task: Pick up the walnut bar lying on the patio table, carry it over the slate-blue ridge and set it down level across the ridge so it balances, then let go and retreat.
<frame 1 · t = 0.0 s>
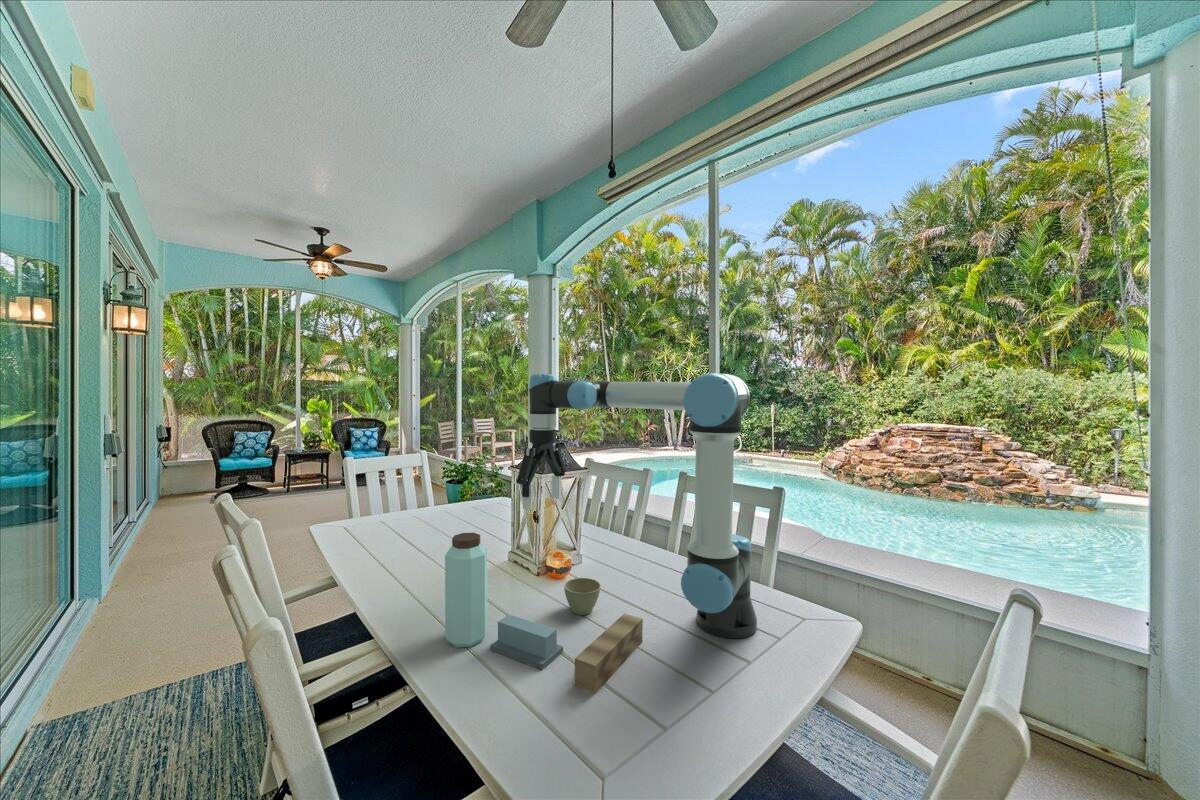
hand: (542, 503, 134), 28 cm above the table, fingers open, 13 cm apart
walnut bar: (611, 663, 106), on the table
ridge: (526, 650, 110), on the table
water bottle: (466, 639, 115), on the table
flower pot: (582, 611, 129), on the table
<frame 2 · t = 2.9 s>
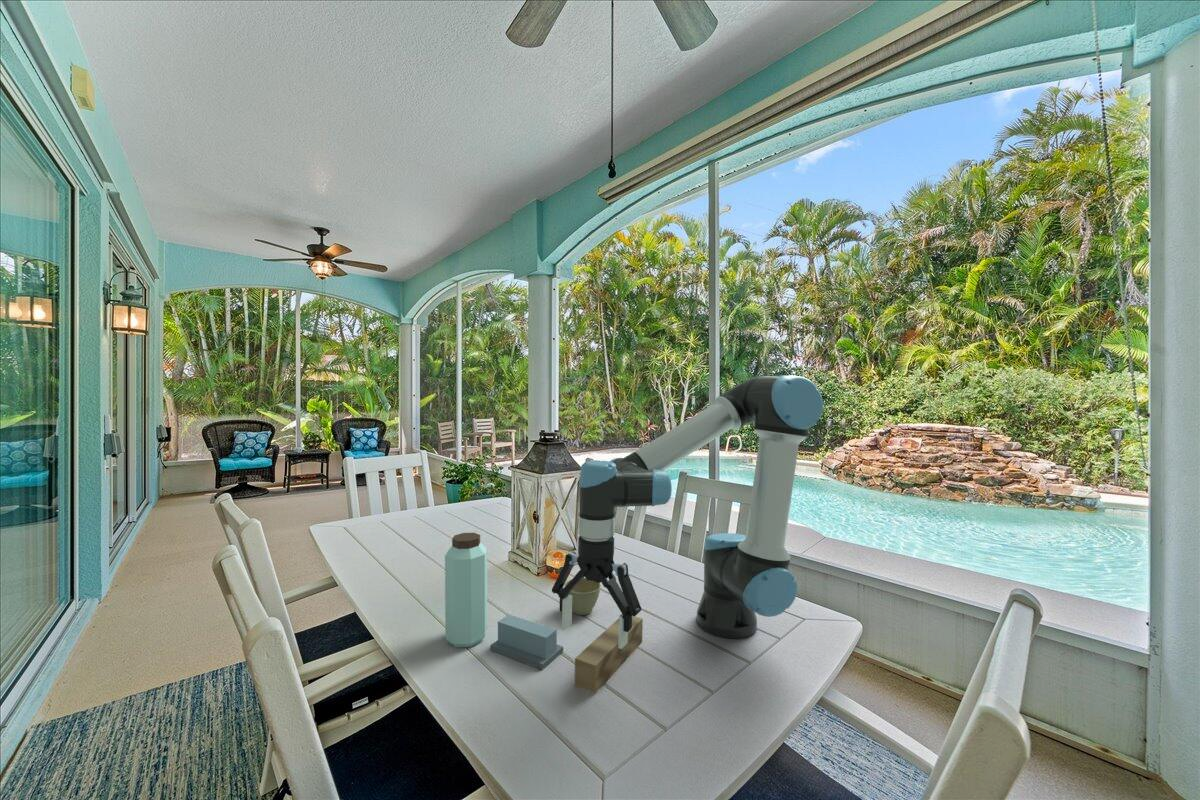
hand: (593, 636, 99), 9 cm above the table, fingers open, 13 cm apart
nothing on the table moved.
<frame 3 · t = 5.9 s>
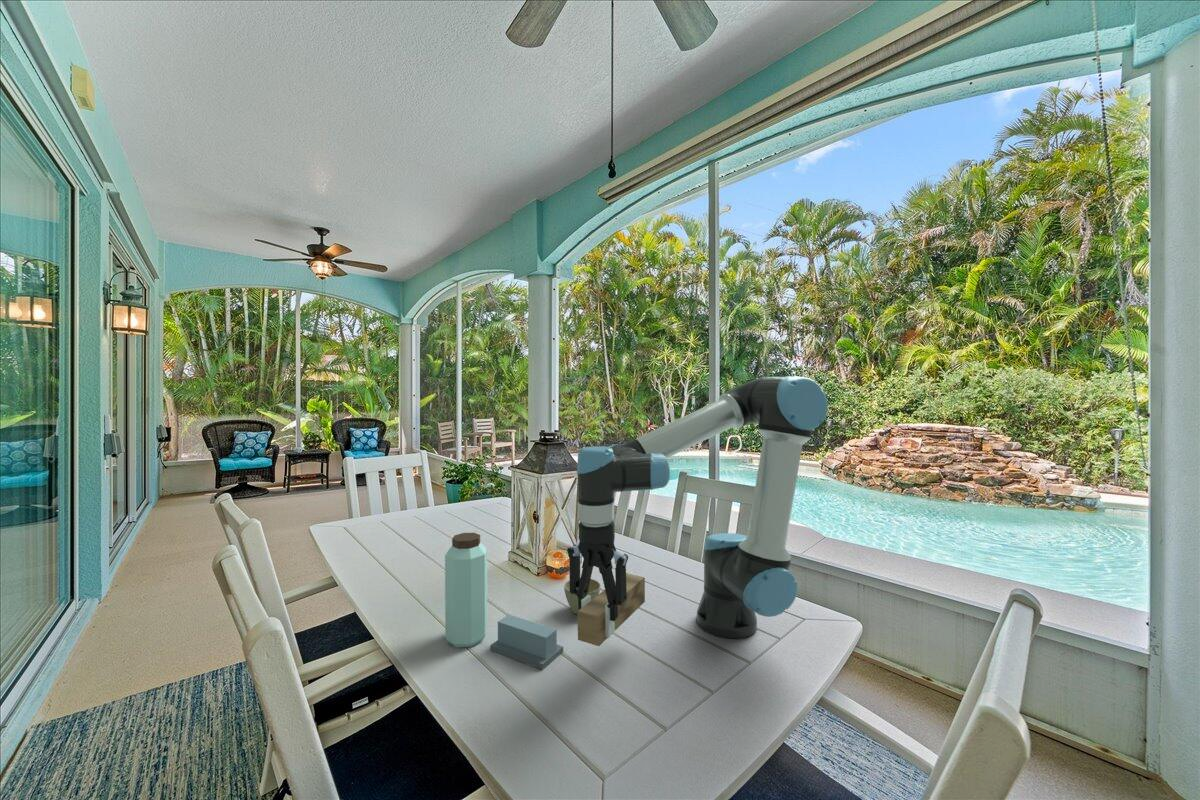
hand: (598, 630, 99), 10 cm above the table, fingers closed on walnut bar, 5 cm apart
walnut bar: (613, 619, 105), point 10 cm above the table, touching gripper
everything else where it was.
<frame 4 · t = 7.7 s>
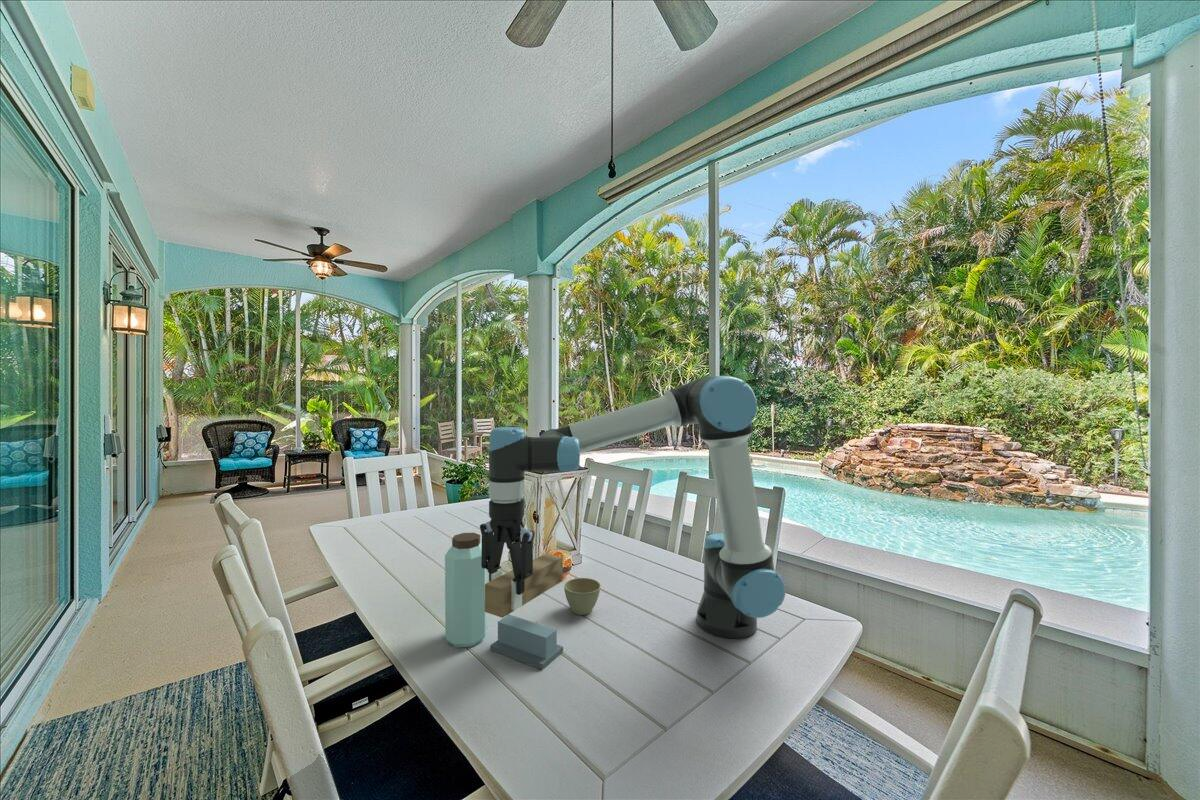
hand: (506, 604, 103), 14 cm above the table, fingers closed on walnut bar, 5 cm apart
walnut bar: (526, 595, 109), point 13 cm above the table, touching gripper
everything else where it was.
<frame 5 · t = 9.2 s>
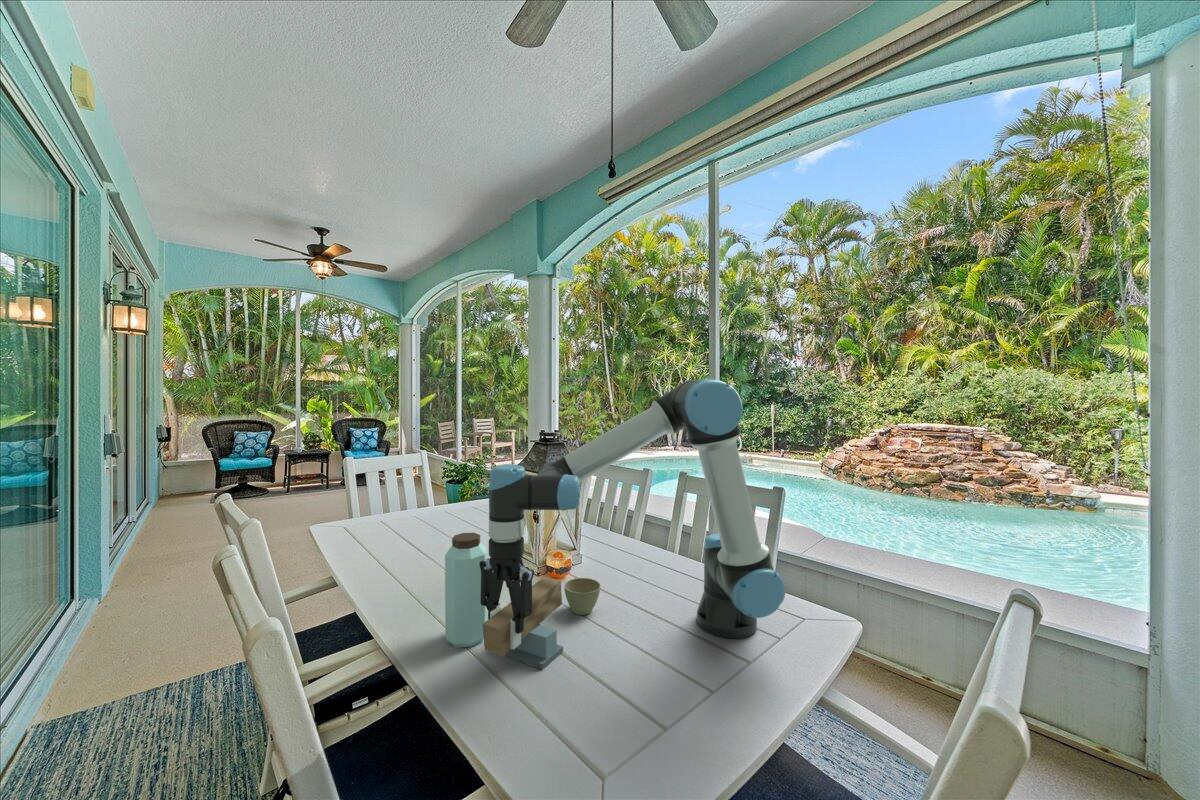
hand: (505, 642, 103), 6 cm above the table, fingers closed on walnut bar, 5 cm apart
walnut bar: (526, 625, 109), point 6 cm above the table, tilted 6°, touching gripper, ridge
everything else where it was.
when the fingers open (5 cm above the table, at t = 9.8 s): walnut bar stays where it is, resting on ridge.
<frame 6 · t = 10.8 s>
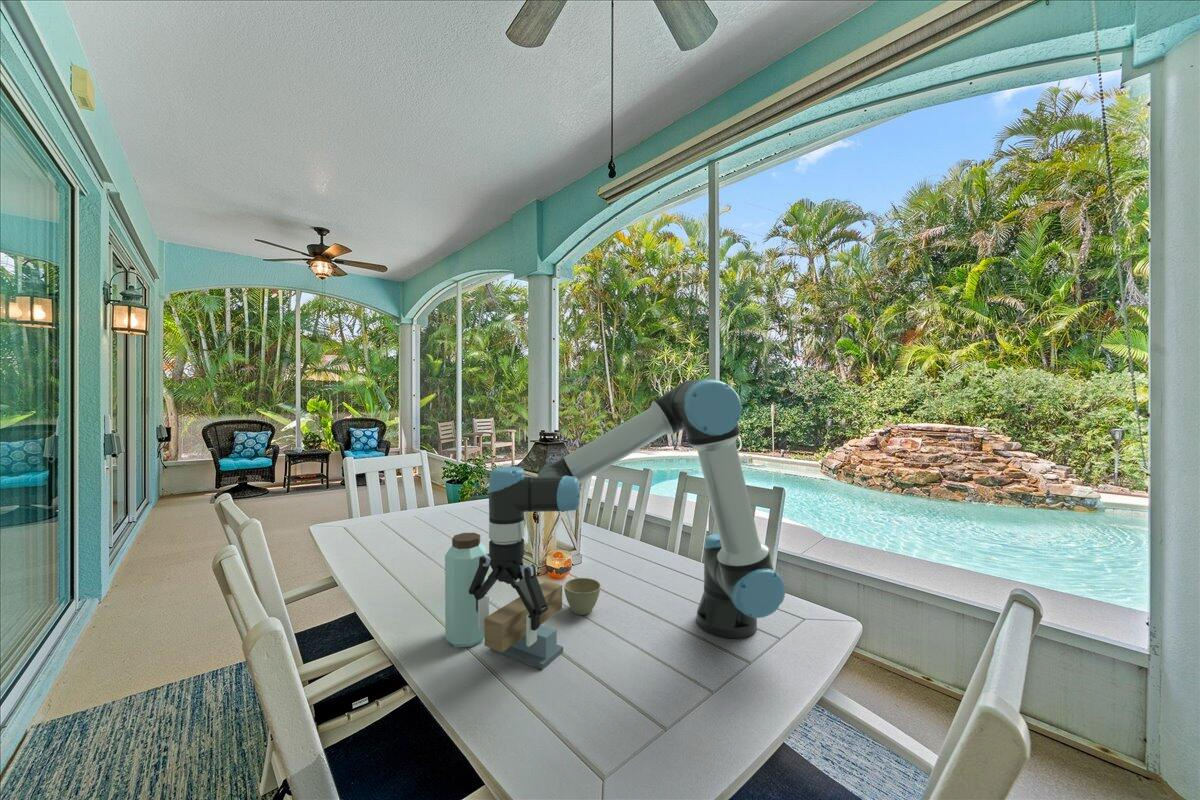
hand: (506, 634, 103), 7 cm above the table, fingers open, 13 cm apart
walnut bar: (526, 625, 109), point 6 cm above the table, touching ridge
everything else where it was.
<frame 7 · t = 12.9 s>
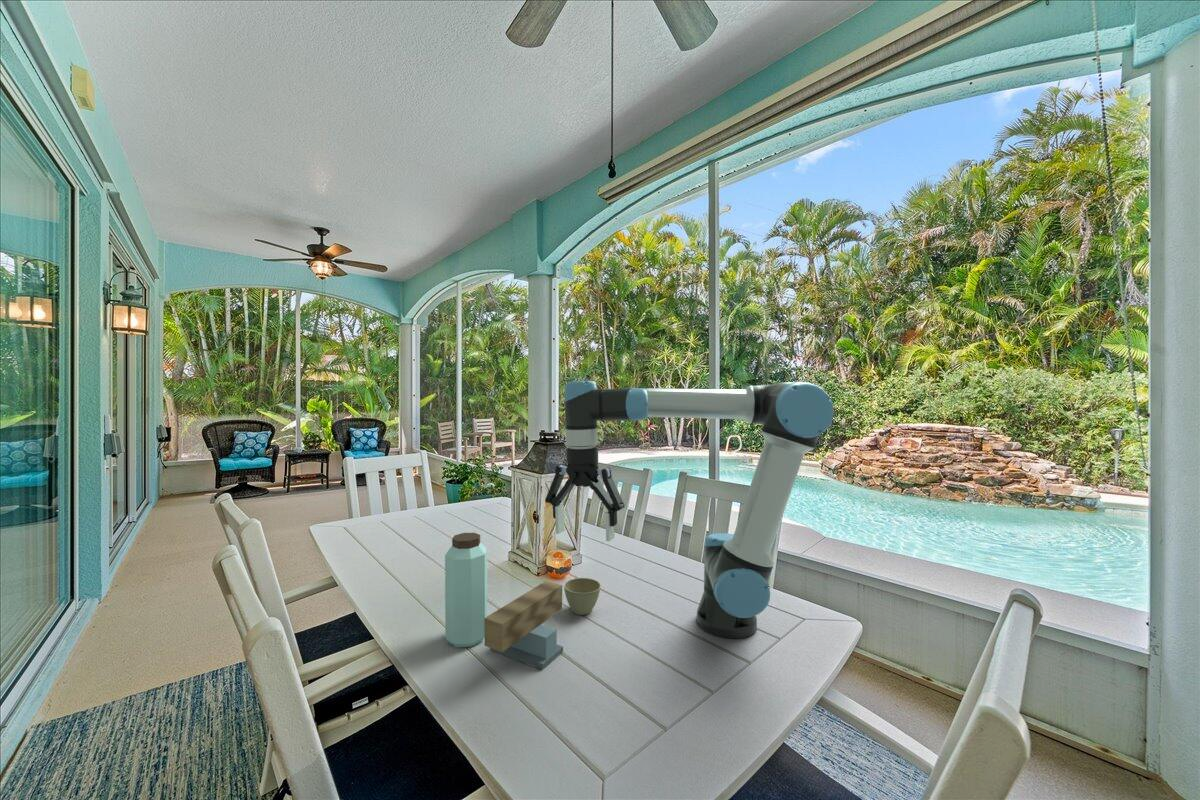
hand: (584, 535, 112), 26 cm above the table, fingers open, 13 cm apart
nothing on the table moved.
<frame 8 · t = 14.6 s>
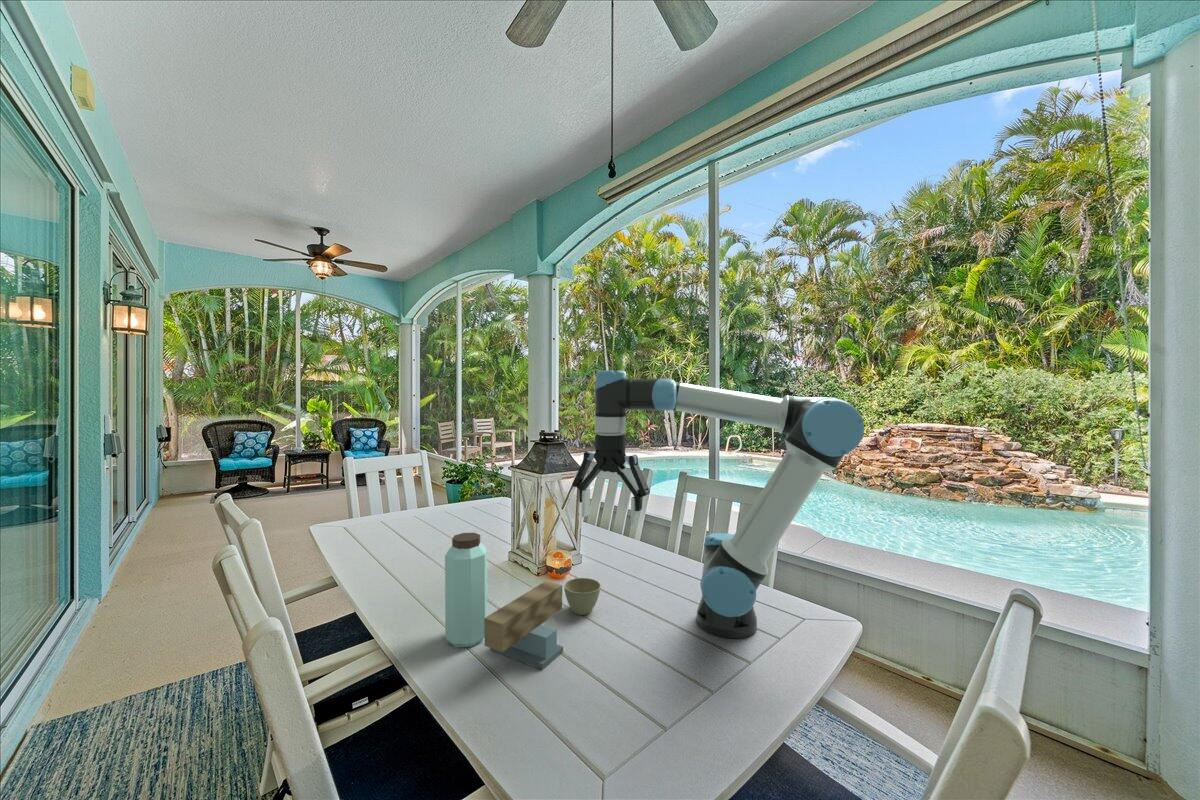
hand: (609, 519, 116), 29 cm above the table, fingers open, 13 cm apart
nothing on the table moved.
at the end: walnut bar 0.2 cm off-centre on the ridge, point 6.0 cm above the ridge's base; walnut bar touching ridge; walnut bar tilted 0° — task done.
